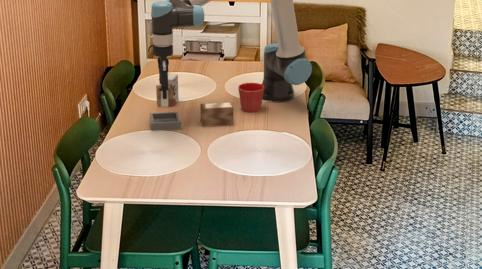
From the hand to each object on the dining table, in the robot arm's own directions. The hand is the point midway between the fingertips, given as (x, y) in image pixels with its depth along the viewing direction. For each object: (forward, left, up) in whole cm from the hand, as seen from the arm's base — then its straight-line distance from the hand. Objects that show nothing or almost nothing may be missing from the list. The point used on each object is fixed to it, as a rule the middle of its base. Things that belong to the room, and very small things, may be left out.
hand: (164, 103), depth 263 cm
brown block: (0, 0, 0) cm, 0 cm away
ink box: (-4, -24, -9) cm, 26 cm away
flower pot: (-36, -12, -9) cm, 39 cm away
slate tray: (0, 0, -9) cm, 9 cm away
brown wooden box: (-20, +1, -9) cm, 22 cm away
